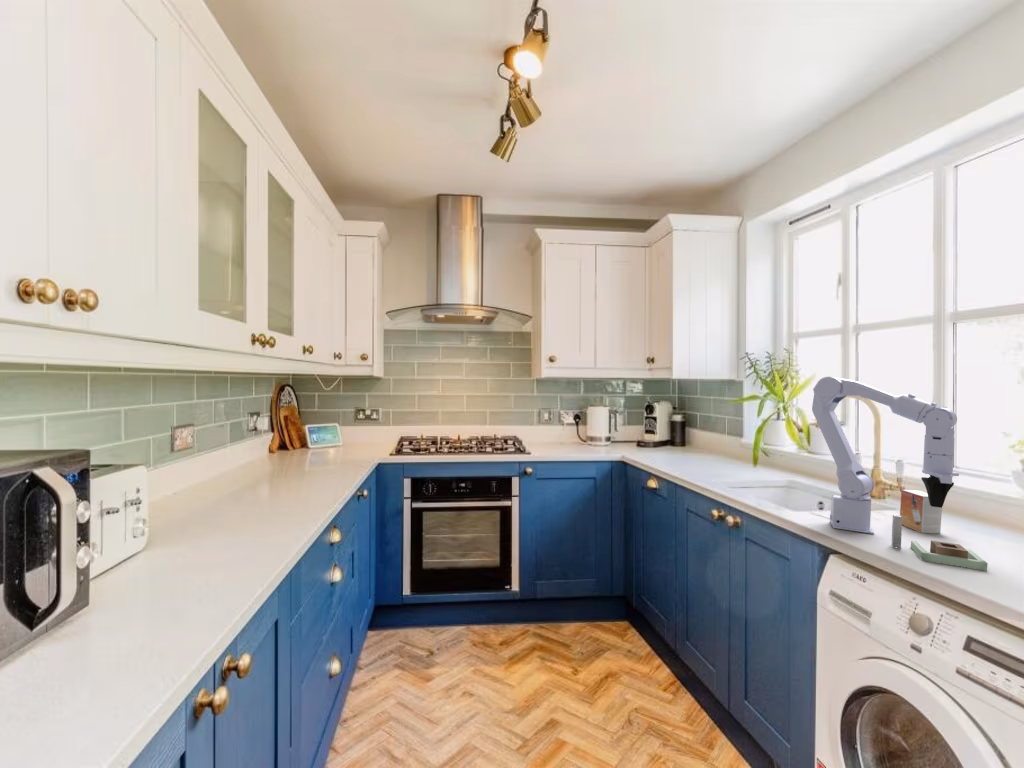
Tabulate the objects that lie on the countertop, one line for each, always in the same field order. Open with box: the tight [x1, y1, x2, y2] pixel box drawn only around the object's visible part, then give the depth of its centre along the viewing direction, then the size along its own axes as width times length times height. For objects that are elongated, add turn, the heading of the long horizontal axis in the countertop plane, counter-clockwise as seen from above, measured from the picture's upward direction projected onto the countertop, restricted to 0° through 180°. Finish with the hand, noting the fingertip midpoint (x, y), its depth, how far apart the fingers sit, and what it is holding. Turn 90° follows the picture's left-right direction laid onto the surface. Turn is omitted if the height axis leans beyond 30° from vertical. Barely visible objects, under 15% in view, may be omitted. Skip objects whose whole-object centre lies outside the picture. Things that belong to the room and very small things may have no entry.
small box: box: [899, 489, 943, 534], centre depth 138 cm, size 8×6×10 cm
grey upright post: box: [891, 514, 903, 549], centre depth 122 cm, size 2×2×8 cm
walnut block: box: [929, 539, 968, 559], centre depth 114 cm, size 5×5×4 cm
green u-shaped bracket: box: [910, 540, 988, 572], centre depth 115 cm, size 11×10×2 cm
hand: (936, 506), depth 123 cm, fingers closed
